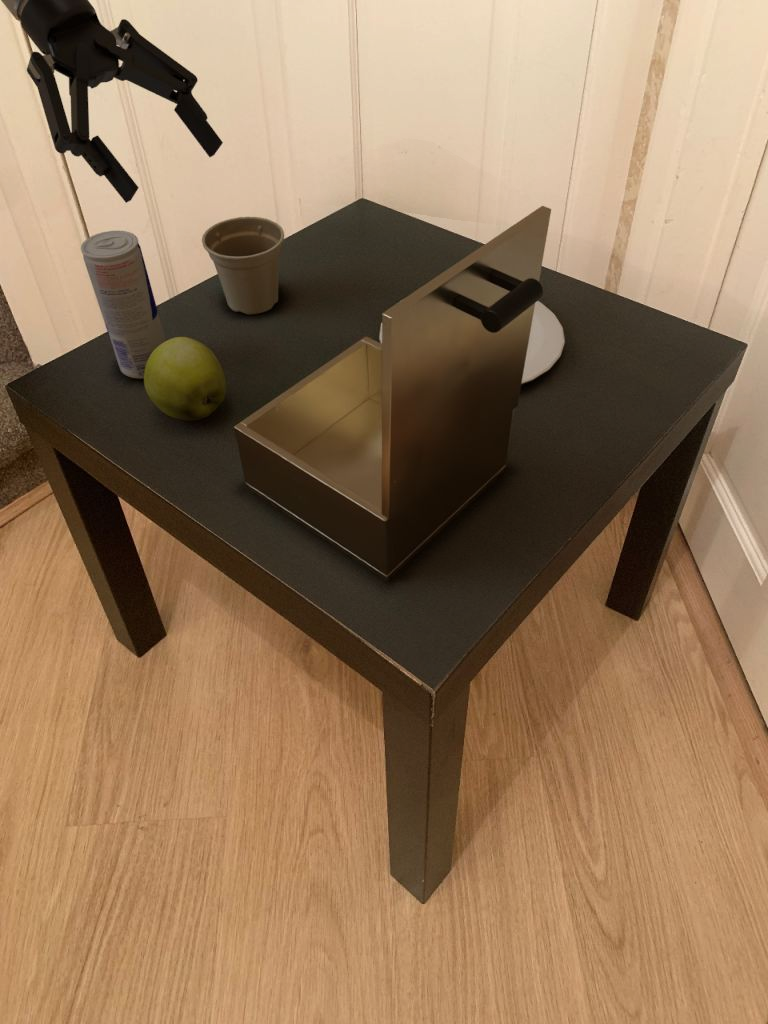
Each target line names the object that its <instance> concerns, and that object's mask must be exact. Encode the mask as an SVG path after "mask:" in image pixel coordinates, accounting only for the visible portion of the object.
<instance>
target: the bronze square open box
mask: <svg viewBox="0 0 768 1024" xmlns="http://www.w3.org/2000/svg"><path fill="white" fill-rule="evenodd" d="M513 413H514V409H513V410H512V411H511V412H510V413H509V414H508V415H507V416H506V417H504V418H503V419H502V420H501V421H500V422H499V423H498V424H496V425H495V426H494V427H493V428H492V429H491V430H490V431H488V432H487V433H486V434H485V435H484V436H483V437H482V438H481V439H479V440H478V441H477V442H476V443H475V444H474V445H473V446H471V447H470V448H469V449H468V450H467V451H466V452H465V453H464V454H462V455H461V456H460V457H459V458H458V459H457V460H456V461H454V462H453V463H452V464H451V465H450V466H449V467H448V468H446V469H445V470H444V471H443V472H442V473H441V474H440V475H439V476H437V477H436V478H435V479H434V480H433V481H432V482H431V483H429V484H428V485H427V486H426V487H425V488H424V489H423V490H421V491H420V492H419V493H418V494H417V495H416V496H415V497H414V498H412V499H411V500H410V501H409V502H408V503H407V504H406V505H404V506H403V507H402V508H401V509H400V510H399V511H398V512H397V513H395V514H394V515H393V516H392V517H391V518H390V519H388V518H386V517H385V516H383V515H382V514H381V509H382V344H381V343H380V341H379V342H378V341H377V340H375V339H372V338H371V337H369V336H364V337H363V338H361V339H360V340H358V341H357V342H355V343H354V344H353V345H351V346H349V347H348V348H347V349H345V350H343V351H342V352H340V353H339V354H338V355H336V356H335V357H333V358H332V359H331V360H329V361H328V362H326V363H325V364H323V365H321V366H320V367H319V368H318V369H316V370H314V371H313V372H311V373H310V374H308V375H307V376H306V377H304V378H303V379H301V380H300V381H299V382H297V383H295V384H294V385H292V386H291V387H289V388H288V389H286V390H285V391H284V392H282V393H281V394H280V395H278V396H276V397H275V398H274V399H272V400H271V401H269V402H267V403H266V404H265V405H263V406H262V407H260V408H259V409H258V410H256V411H254V412H253V413H252V414H250V415H249V416H247V417H245V418H244V419H243V420H242V421H240V422H239V423H237V424H235V425H234V426H233V430H234V434H235V439H236V444H237V449H238V453H239V458H240V463H241V468H242V474H243V477H244V482H245V486H246V489H247V490H248V491H250V492H251V493H253V494H254V495H256V496H257V497H259V498H261V499H262V500H263V501H265V502H267V503H268V504H269V505H271V506H273V507H274V508H275V509H277V510H278V511H280V512H281V513H283V514H284V515H286V516H287V517H288V518H290V519H292V520H294V522H297V523H298V524H299V525H301V526H302V527H304V528H305V529H307V530H308V531H309V532H311V533H312V534H315V535H316V536H318V537H319V538H320V539H322V540H323V541H325V542H326V543H328V545H329V544H330V545H331V546H332V547H333V548H335V549H337V550H338V551H339V552H341V553H343V554H344V555H346V556H347V557H349V558H351V559H352V560H353V561H355V562H357V563H358V564H360V565H361V566H362V567H364V568H365V569H366V570H368V571H370V572H371V573H373V574H374V575H376V576H378V577H379V578H380V579H382V580H383V581H385V582H389V581H390V580H391V579H392V578H393V577H394V576H395V575H396V574H398V572H399V571H400V570H401V569H402V568H404V567H405V566H406V565H407V564H408V563H409V562H410V561H411V560H412V559H413V558H415V556H416V555H418V553H419V552H420V551H422V550H423V549H424V548H425V547H426V546H427V545H428V544H429V543H430V542H431V541H433V540H434V539H435V538H436V537H437V536H438V534H440V532H442V531H443V530H444V529H445V528H446V527H447V526H448V525H449V524H450V523H451V522H452V521H454V519H456V518H457V517H458V516H460V515H461V513H462V512H463V511H464V510H465V509H466V508H468V506H469V505H471V503H472V502H474V501H475V500H476V499H477V498H478V497H480V495H481V494H483V492H484V491H485V490H487V489H488V488H489V487H490V486H491V485H492V483H494V482H495V481H496V480H497V479H498V478H499V477H501V475H503V474H504V473H505V472H506V469H507V468H506V467H507V460H508V452H509V446H510V445H509V444H510V435H511V430H512V429H511V428H512V421H513Z"/></svg>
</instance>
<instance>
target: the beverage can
mask: <svg viewBox="0 0 768 1024" xmlns="http://www.w3.org/2000/svg"><path fill="white" fill-rule="evenodd" d="M138 238H139V237H137V236H136V235H135V234H134V233H133V232H130V231H126V230H108V231H102V232H99V233H96V234H94V235H91V236H89V237H87V238H86V239H85V240H84V241H83V242H82V243H81V245H80V251H81V254H82V257H83V261H84V264H85V267H86V270H87V274H88V277H89V279H90V283H91V285H92V288H93V292H94V295H95V298H96V301H97V304H98V307H99V310H100V313H101V316H102V319H103V322H104V325H105V328H106V331H107V334H108V337H109V340H110V343H111V346H112V349H113V352H114V355H115V358H116V361H117V364H118V368H119V371H120V372H121V373H122V374H123V375H125V376H127V377H129V378H132V379H140V380H141V379H144V372H145V367H146V363H147V361H148V359H149V357H150V355H151V353H152V352H153V351H154V350H155V349H156V348H157V347H158V346H159V345H161V344H162V343H163V342H165V341H167V340H166V337H165V332H164V329H163V326H162V322H161V318H160V315H159V314H160V313H159V311H158V308H157V302H156V299H155V295H154V293H153V289H152V284H151V280H150V277H149V274H148V270H147V265H146V262H145V259H144V255H143V252H142V248H141V244H140V243H139V239H138Z"/></svg>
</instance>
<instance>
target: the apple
mask: <svg viewBox="0 0 768 1024" xmlns="http://www.w3.org/2000/svg"><path fill="white" fill-rule="evenodd" d="M143 384H144V389H145V391H146V393H147V396H148V397H149V399H150V400H151V402H152V403H153V404H154V405H155V406H156V407H157V408H158V409H159V411H161V412H162V413H164V414H166V415H167V416H169V417H171V418H174V419H176V420H181V421H200V420H203V419H206V418H208V417H209V416H210V415H211V414H213V412H215V411H216V409H217V408H218V407H219V406H220V405H221V404H222V403H223V401H224V400H225V398H226V394H227V380H226V376H225V373H224V370H223V368H222V366H221V364H220V362H219V360H218V357H216V354H215V353H214V352H213V351H212V350H211V349H210V348H209V347H208V346H206V345H205V344H204V343H202V342H200V341H198V340H196V339H194V338H191V337H187V336H177V337H172V338H170V339H167V340H166V341H165V342H163V343H162V344H161V345H159V346H158V347H157V348H156V349H155V350H154V351H153V352H152V353H151V355H150V357H149V359H148V361H147V363H146V367H145V372H144V378H143Z"/></svg>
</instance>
